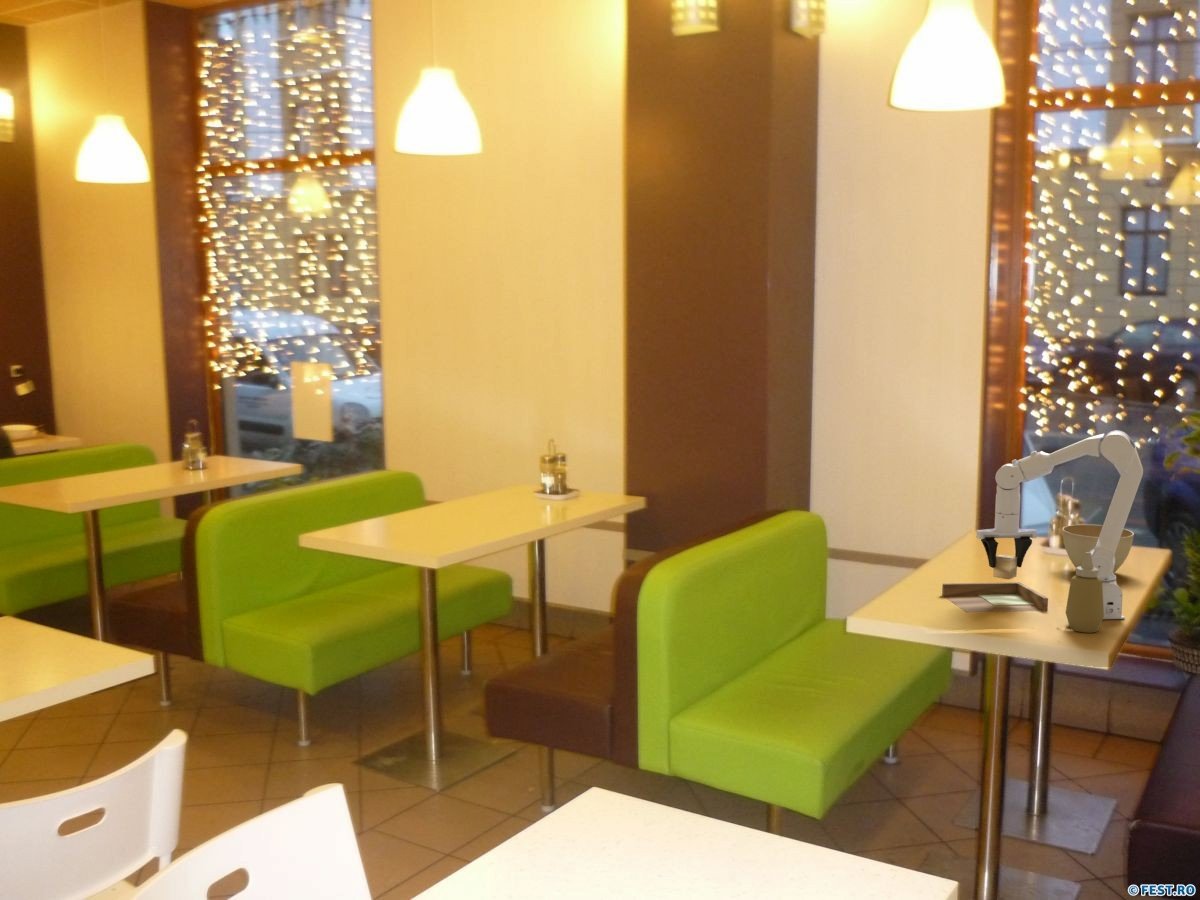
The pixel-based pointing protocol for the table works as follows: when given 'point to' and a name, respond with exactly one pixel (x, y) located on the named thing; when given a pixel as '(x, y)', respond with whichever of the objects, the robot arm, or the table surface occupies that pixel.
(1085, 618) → the squeeze bottle
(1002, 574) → the block
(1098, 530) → the beige bowl
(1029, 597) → the arena
